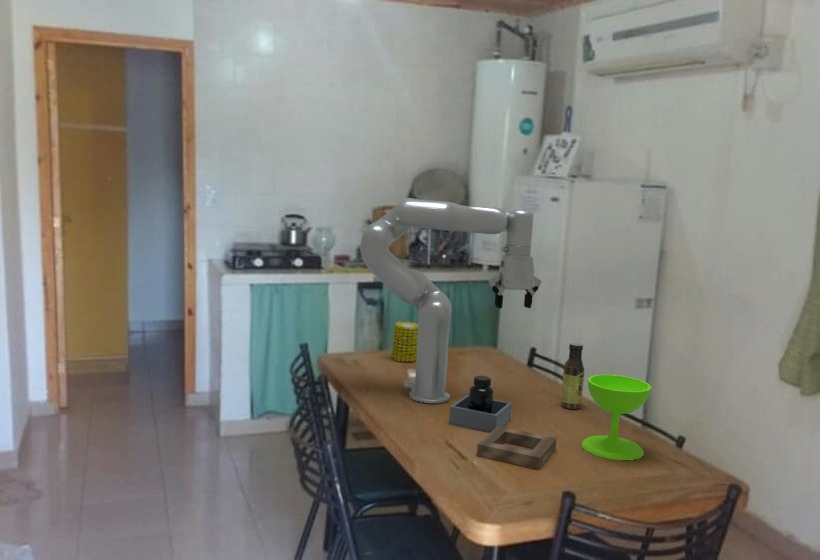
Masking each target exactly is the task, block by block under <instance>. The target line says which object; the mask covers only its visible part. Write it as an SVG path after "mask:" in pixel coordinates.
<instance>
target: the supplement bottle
mask: <svg viewBox="0 0 820 560" xmlns="http://www.w3.org/2000/svg"><path fill="white" fill-rule="evenodd" d="M491 385H492V378H491V377H489V376H485V375H475V376H474V378H473V385H472V386H470V388H469V392H468V393H469V394H468V395H469V404H468V409H470V410H475V411H480V412H485V413H490V414H492V406H493V400H494V393H495V391H494V389H493V387H492V386H491Z"/></svg>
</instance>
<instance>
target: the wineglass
mask: <svg viewBox="0 0 820 560" xmlns="http://www.w3.org/2000/svg"><path fill="white" fill-rule="evenodd" d="M587 388H588V391H589V394H590V396H591V398H592V399H593V401H594V403H595V404H596V405H598V406H599V407H600V408H601V409H602V410H604V411H605V412H608V413H611V421H610V422H611V423H610V433H609V435H606V434H605V435H604V434H603V435H602V434H601V435H599V434H598V435H591V436H588V437H586V438H585V439H584V440H583V441H582V443H581V447H582V449H583V448H584V449H585V451H586V450H587V451H588V453H589V452H590V453H589V454H591V453H592V454H591V455H593V454H594V455H593V456H596V457H598V456H599V458H602V457H603V458H602V459H606V458H607V460H612V461H621V460H630V461H635V460H634V459H637V460H639V459H642V458H643V457H642V456H644V455H645V454H644V453H645V452H644V450H643V449H642V447H641V446H640V445H639V444H637V443H636V442H634V441H632V440H629V439H627V438H623V437H620V436H618V435H619V434H618V433H619V424H620V416H621V415H624V414H625V415H626V414H631V413H633V412H636V411H637V410H639V409H640V408H642V406H643V405H645V404H646V402H647V400H648V398H649V397H650V394H651V390H652V385H650V384H649V383H648V382H646V381H644V380H641V379H638V378H634V377H631V376H626V375H618V374H595V375H591V376H589V377H588V378H587ZM584 449H583V450H584ZM587 451H586V452H587ZM641 457H642V458H641Z"/></svg>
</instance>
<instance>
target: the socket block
mask: <svg viewBox="0 0 820 560" xmlns="http://www.w3.org/2000/svg"><path fill="white" fill-rule="evenodd" d="M504 443H505V444H510V445H515V446H518V447H519V446H520V447H525V448H529V449H532V450H528V449H527V450H526V449H522V448H517V447H513V446H509V445H504ZM556 447H557V437H554V436H549V435H543V434H539V433H534V432H529V431H524V430H519V429H514V428H510V427H504V426H503V427H500V426H497V427H496V428H495V429H494V430H493V431H492V432H489V433H488V434H487V435H486V436H485V437H484V438H483V439H482V440H480V442H478V443H477V448H476V456H478V457H480V458H486V459H491V460H494V461H500V462H502V463H503V462H504V463H507V462H508V464H512V463H513V464H512V465H516V464H518V465H517V466H521V465H523V466H522V467H525V466H527V467H526V468H530V467H532V468H531V469H534V468H536V469H535V470H538V469H539V470H541V468H542V467H543V466H544V464H545V463H546V462H547V461H548V459H549V458H550V457H551V456H552V454H553V453H554V451H556Z"/></svg>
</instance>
